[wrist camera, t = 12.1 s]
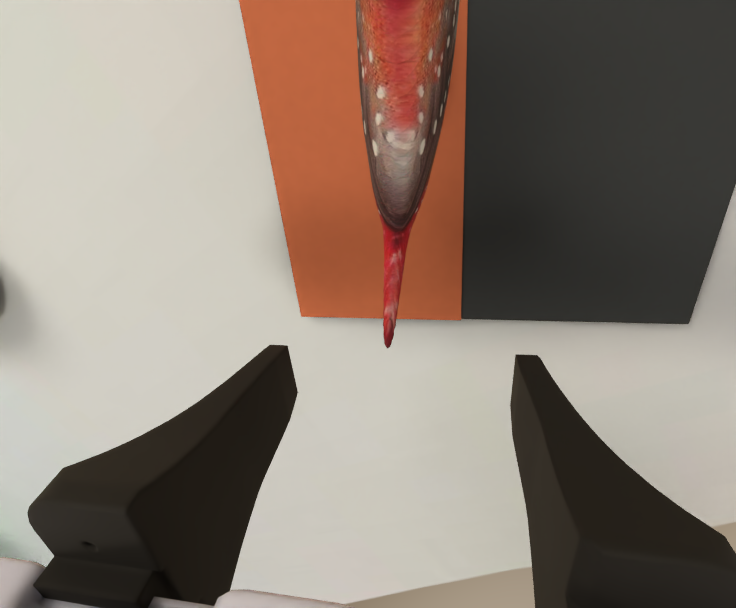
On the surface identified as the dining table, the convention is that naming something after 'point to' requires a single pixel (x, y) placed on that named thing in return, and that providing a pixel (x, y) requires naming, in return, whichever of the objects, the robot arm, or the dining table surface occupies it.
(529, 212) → the orange and black board
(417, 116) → the decorative bird figurine
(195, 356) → the dining table surface
